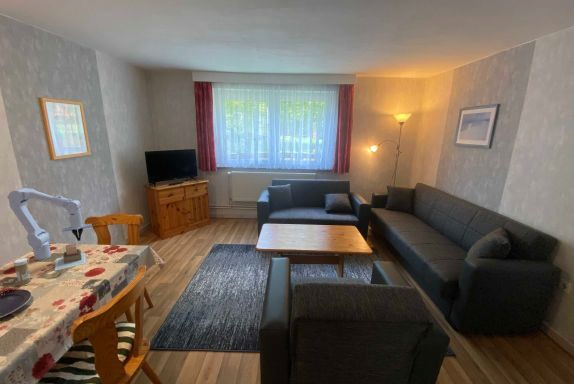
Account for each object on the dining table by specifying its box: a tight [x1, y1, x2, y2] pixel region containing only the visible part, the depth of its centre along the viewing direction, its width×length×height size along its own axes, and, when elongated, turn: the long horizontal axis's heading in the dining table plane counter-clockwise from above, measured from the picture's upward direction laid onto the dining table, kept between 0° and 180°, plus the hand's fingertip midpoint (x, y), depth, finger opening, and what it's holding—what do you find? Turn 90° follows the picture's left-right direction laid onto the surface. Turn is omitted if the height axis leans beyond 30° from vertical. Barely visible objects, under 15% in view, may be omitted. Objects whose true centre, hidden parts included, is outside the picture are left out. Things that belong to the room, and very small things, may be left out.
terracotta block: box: [65, 243, 78, 255], centre depth 152 cm, size 5×5×5 cm
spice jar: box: [13, 258, 31, 287], centre depth 127 cm, size 5×5×13 cm
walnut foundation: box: [62, 248, 82, 263], centre depth 153 cm, size 8×8×4 cm
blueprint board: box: [54, 252, 87, 271], centre depth 151 cm, size 17×14×1 cm
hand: (79, 240), depth 157 cm, fingers closed
